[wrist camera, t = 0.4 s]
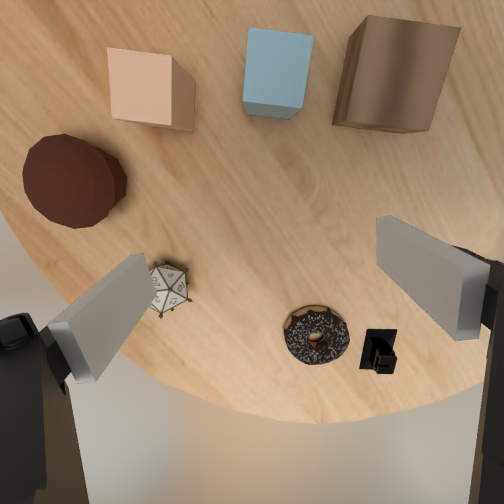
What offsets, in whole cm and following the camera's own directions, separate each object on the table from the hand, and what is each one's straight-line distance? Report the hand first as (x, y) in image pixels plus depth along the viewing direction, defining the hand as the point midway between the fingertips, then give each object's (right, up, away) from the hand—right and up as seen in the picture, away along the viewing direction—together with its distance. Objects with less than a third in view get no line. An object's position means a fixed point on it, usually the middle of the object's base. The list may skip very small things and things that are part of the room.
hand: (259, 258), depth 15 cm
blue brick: (+2, +22, +21) cm, 30 cm away
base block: (+16, +22, +21) cm, 34 cm away
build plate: (+23, -18, +37) cm, 47 cm away
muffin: (-23, +11, +25) cm, 36 cm away
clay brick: (-11, +20, +22) cm, 32 cm away
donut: (+11, -14, +35) cm, 39 cm away
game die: (-14, -4, +31) cm, 34 cm away
